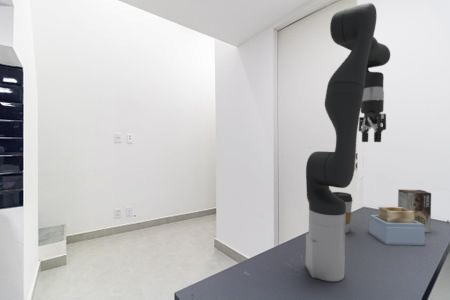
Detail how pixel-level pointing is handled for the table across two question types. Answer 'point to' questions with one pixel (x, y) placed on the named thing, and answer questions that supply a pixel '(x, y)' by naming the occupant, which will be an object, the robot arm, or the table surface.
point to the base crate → (397, 232)
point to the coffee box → (417, 205)
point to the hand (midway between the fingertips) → (370, 142)
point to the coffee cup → (348, 201)
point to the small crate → (396, 215)
